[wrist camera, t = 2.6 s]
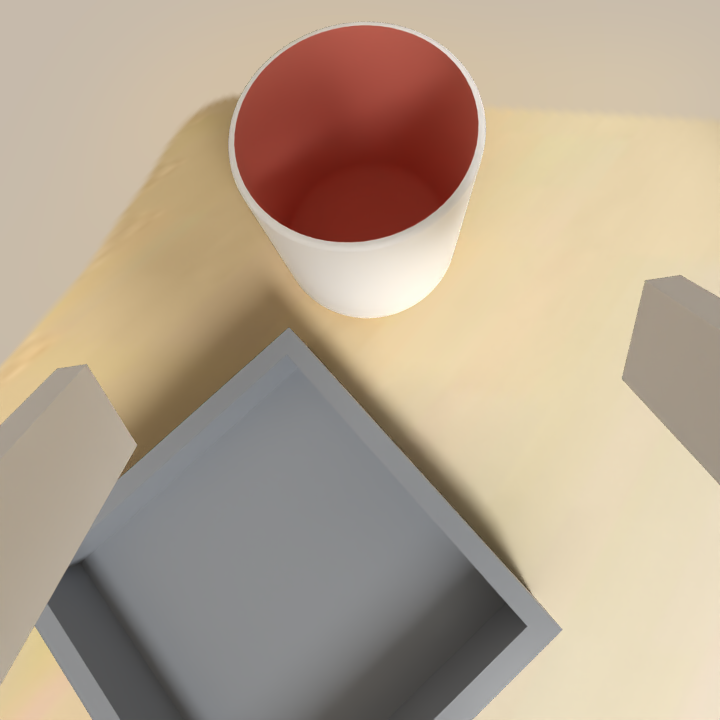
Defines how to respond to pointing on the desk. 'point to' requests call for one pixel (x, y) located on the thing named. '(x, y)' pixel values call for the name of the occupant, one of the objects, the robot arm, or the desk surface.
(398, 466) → the tray
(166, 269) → the desk surface
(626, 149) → the desk surface
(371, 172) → the cup
